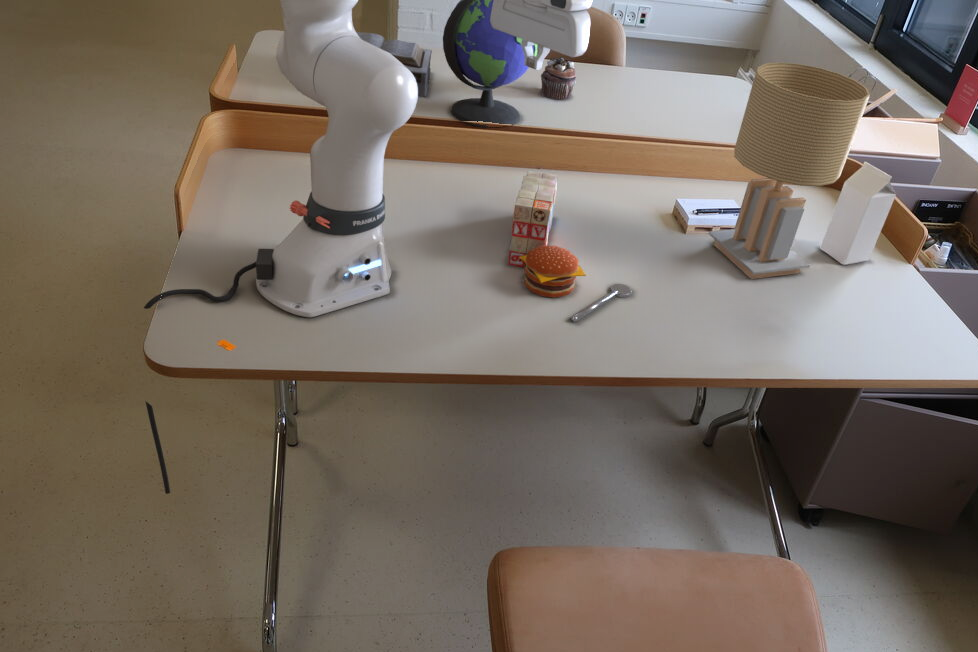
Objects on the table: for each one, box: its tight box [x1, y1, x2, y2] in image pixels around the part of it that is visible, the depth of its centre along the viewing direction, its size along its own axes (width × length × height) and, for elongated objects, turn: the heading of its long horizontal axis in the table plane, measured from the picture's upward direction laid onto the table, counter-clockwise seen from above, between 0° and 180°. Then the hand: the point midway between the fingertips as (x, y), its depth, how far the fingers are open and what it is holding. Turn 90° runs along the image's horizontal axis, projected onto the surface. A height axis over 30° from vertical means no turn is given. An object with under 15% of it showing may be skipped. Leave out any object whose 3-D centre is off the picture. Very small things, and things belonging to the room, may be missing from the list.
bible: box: [356, 31, 433, 98], centre depth 215 cm, size 23×27×10 cm
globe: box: [442, 0, 538, 129], centre depth 198 cm, size 22×22×30 cm
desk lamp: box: [708, 61, 871, 280], centre depth 153 cm, size 20×20×35 cm
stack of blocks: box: [507, 170, 559, 268], centre depth 154 cm, size 21×6×12 cm, turn 174°
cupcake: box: [540, 56, 577, 101], centre depth 223 cm, size 10×10×10 cm
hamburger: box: [519, 244, 587, 298], centre depth 143 cm, size 9×10×7 cm
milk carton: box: [819, 161, 897, 266], centre depth 164 cm, size 7×7×19 cm
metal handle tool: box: [571, 283, 632, 323], centre depth 142 cm, size 16×4×1 cm, turn 142°
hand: (532, 67), depth 151 cm, fingers closed
